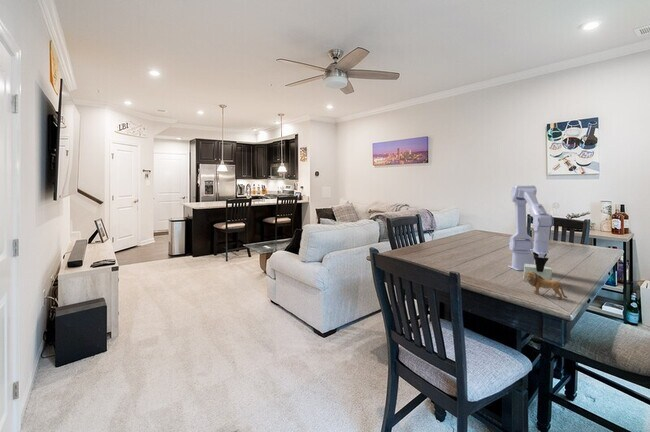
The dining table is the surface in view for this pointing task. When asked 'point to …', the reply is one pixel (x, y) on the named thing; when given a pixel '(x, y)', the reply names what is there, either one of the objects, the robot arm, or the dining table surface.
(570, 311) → the dining table surface
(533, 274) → the lion figurine
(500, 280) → the dining table surface
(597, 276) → the dining table surface
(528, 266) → the pale green block
